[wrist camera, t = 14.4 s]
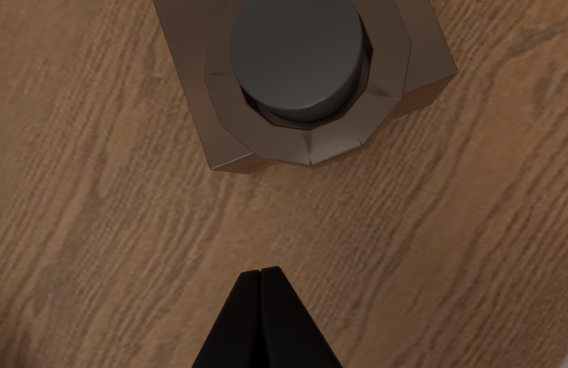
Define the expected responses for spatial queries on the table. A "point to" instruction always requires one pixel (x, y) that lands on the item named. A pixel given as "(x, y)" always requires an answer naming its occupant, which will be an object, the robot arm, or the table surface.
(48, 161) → the table surface
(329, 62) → the black button
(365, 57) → the walnut block
